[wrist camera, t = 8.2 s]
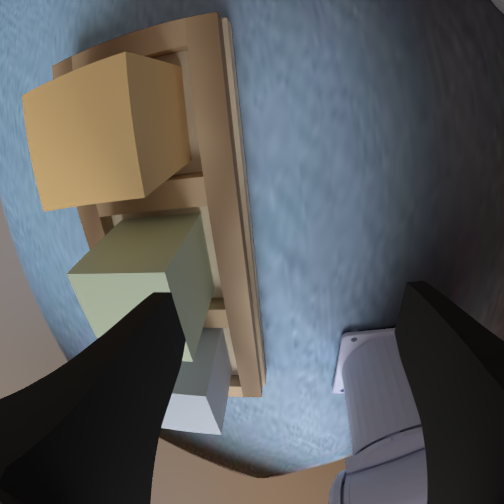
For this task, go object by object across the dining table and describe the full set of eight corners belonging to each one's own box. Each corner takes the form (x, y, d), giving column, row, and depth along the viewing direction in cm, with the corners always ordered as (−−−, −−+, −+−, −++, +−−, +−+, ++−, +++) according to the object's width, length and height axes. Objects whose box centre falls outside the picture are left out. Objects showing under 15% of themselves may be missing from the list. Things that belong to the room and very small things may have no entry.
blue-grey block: (221, 323, 20) (205, 396, 14) (232, 369, 22) (221, 434, 17) (155, 322, 20) (125, 387, 15) (172, 366, 23) (153, 426, 17)
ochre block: (191, 160, 14) (144, 197, 9) (110, 171, 15) (43, 211, 10) (181, 66, 12) (125, 51, 7) (97, 88, 13) (22, 95, 7)
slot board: (231, 24, 12) (222, 10, 10) (266, 371, 24) (264, 397, 22) (75, 67, 13) (49, 67, 11) (158, 367, 25) (150, 389, 23)
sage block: (201, 212, 16) (164, 272, 11) (214, 288, 18) (192, 361, 13) (122, 219, 16) (66, 273, 11) (143, 288, 19) (105, 353, 14)
